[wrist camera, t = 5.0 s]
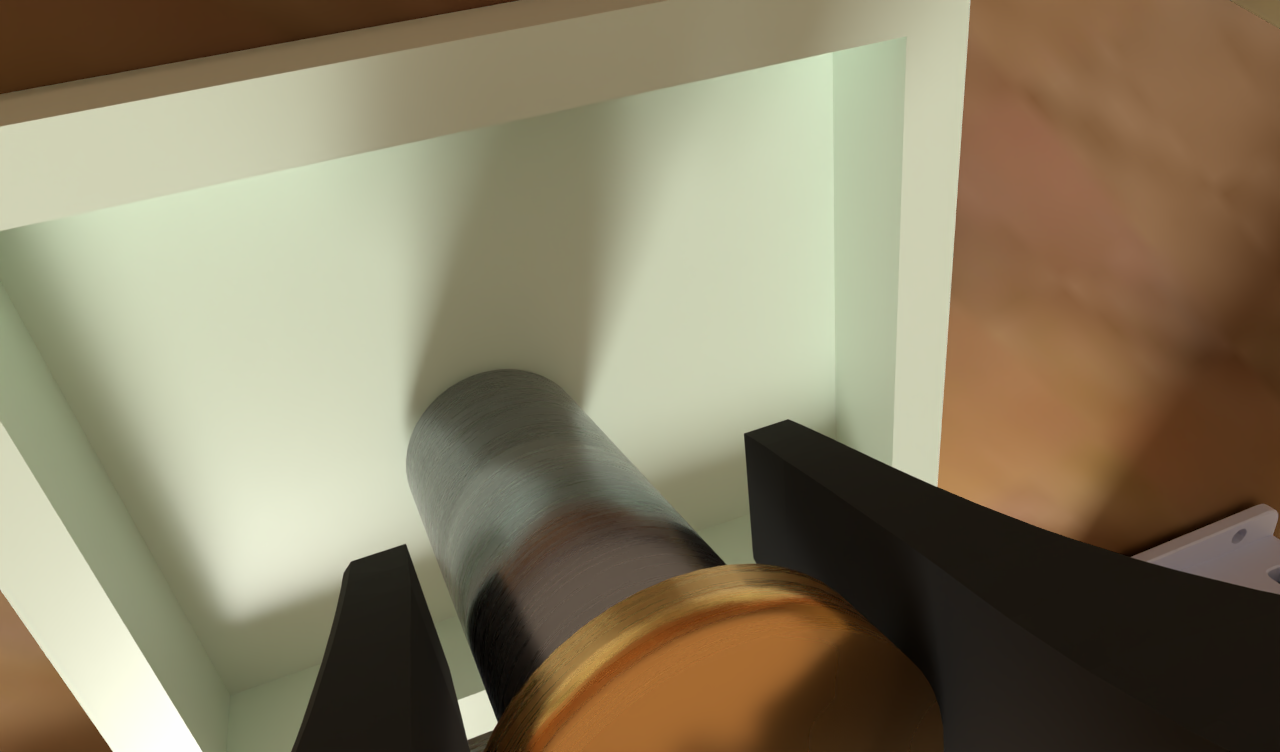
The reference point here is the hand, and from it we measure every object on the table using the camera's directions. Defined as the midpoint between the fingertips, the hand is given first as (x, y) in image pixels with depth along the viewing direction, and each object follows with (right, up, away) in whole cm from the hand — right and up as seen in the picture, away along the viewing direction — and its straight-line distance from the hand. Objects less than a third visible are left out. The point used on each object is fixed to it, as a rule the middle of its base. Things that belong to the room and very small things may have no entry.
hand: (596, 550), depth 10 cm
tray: (-2, +2, +4) cm, 5 cm away
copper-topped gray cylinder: (-2, +1, +4) cm, 4 cm away
